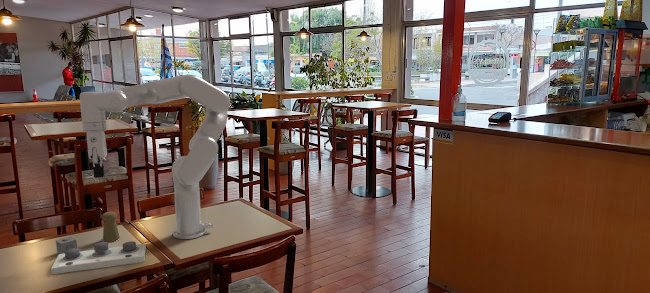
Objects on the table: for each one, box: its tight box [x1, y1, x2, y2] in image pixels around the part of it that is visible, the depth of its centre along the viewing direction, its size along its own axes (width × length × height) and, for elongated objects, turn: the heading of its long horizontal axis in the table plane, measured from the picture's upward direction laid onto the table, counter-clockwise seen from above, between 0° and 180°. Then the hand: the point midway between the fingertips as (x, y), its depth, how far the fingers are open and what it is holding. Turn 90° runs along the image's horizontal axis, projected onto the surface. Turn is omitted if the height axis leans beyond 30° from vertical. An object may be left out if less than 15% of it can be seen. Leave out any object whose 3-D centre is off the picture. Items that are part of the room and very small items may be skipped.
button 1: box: [65, 247, 81, 259], centre depth 153 cm, size 4×4×2 cm
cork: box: [101, 211, 121, 243], centre depth 173 cm, size 6×6×11 cm
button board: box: [50, 243, 147, 275], centre depth 155 cm, size 28×12×2 cm, turn 109°
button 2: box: [122, 240, 137, 252], centre depth 159 cm, size 4×4×2 cm
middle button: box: [93, 241, 109, 252], centre depth 156 cm, size 4×4×2 cm
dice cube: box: [55, 235, 78, 255], centre depth 162 cm, size 5×5×5 cm
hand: (99, 176), depth 162 cm, fingers closed
